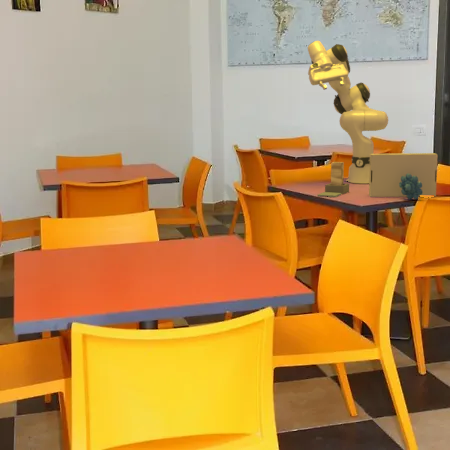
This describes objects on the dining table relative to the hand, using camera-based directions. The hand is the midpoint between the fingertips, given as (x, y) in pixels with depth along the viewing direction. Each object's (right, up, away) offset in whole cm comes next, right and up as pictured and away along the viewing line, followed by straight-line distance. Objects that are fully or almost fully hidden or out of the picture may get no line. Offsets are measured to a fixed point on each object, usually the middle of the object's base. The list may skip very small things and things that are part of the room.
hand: (333, 87), depth 344 cm
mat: (-5, -56, -18) cm, 59 cm away
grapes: (+29, -59, -35) cm, 74 cm away
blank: (0, -54, -9) cm, 55 cm away
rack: (0, -54, -9) cm, 55 cm away
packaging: (+29, -57, -23) cm, 68 cm away
